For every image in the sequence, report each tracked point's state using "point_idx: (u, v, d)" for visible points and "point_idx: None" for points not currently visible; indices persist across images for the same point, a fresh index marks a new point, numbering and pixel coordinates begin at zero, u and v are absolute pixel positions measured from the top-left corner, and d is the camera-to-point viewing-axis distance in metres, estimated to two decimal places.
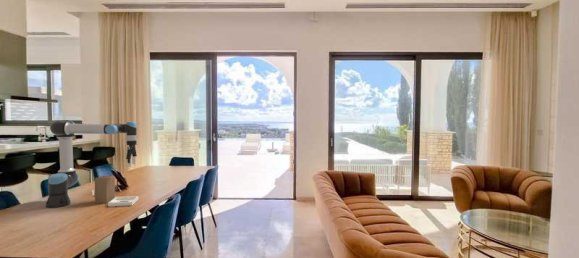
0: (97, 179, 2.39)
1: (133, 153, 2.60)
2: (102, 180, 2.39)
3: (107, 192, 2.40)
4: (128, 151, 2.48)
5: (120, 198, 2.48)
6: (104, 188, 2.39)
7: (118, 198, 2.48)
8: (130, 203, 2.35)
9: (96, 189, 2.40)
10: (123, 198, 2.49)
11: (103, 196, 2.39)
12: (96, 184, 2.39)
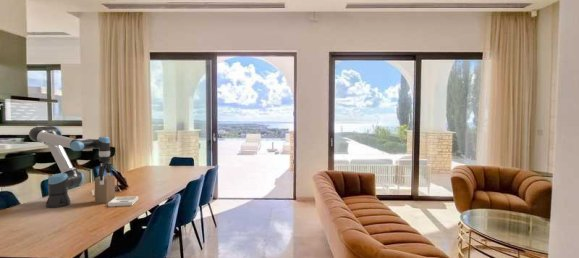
0: (97, 179, 2.39)
1: (107, 169, 2.48)
2: None
3: (107, 192, 2.40)
4: (100, 168, 2.36)
5: (120, 198, 2.48)
6: (104, 188, 2.39)
7: (118, 198, 2.48)
8: (130, 203, 2.35)
9: (96, 189, 2.40)
10: (123, 198, 2.49)
11: (103, 196, 2.39)
12: (96, 184, 2.39)
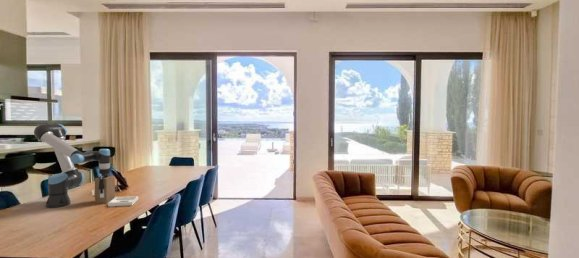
0: (97, 179, 2.39)
1: None
2: None
3: (107, 192, 2.40)
4: (100, 181, 2.37)
5: (120, 198, 2.48)
6: (104, 188, 2.39)
7: (118, 198, 2.48)
8: (130, 203, 2.35)
9: (96, 189, 2.40)
10: (123, 198, 2.49)
11: None
12: (96, 184, 2.39)
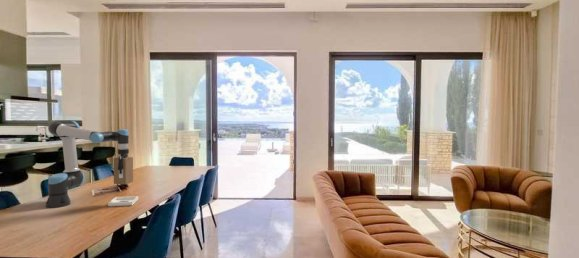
0: (116, 159, 2.36)
1: None
2: None
3: (126, 172, 2.37)
4: (119, 161, 2.33)
5: (120, 198, 2.48)
6: (123, 168, 2.35)
7: (118, 198, 2.48)
8: (130, 203, 2.35)
9: (115, 169, 2.36)
10: (123, 198, 2.49)
11: None
12: (115, 164, 2.36)
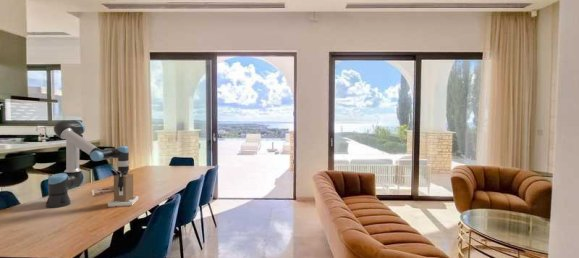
0: (116, 177, 2.36)
1: None
2: None
3: (126, 189, 2.37)
4: (120, 179, 2.34)
5: None
6: (123, 185, 2.36)
7: None
8: (130, 203, 2.35)
9: (115, 187, 2.37)
10: None
11: None
12: (115, 182, 2.37)
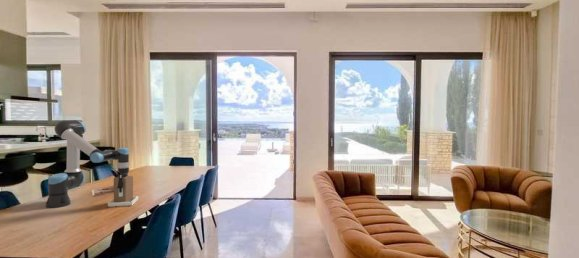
0: (116, 179, 2.36)
1: None
2: None
3: (126, 191, 2.37)
4: (119, 180, 2.34)
5: None
6: (123, 187, 2.36)
7: None
8: (130, 203, 2.35)
9: (115, 189, 2.37)
10: None
11: (122, 196, 2.37)
12: (115, 184, 2.37)
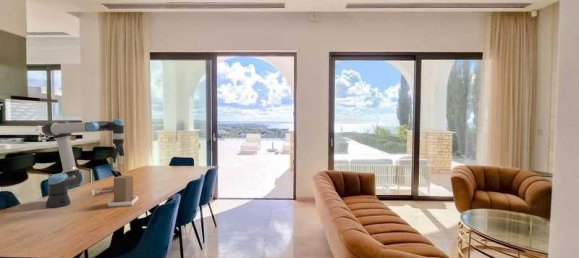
0: (116, 179, 2.36)
1: (120, 152, 2.48)
2: (121, 180, 2.36)
3: (126, 191, 2.37)
4: (114, 150, 2.35)
5: None
6: (123, 187, 2.36)
7: None
8: (130, 203, 2.35)
9: (115, 189, 2.37)
10: None
11: (122, 196, 2.37)
12: (115, 184, 2.37)
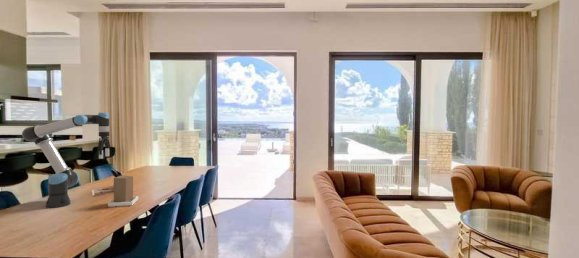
0: (116, 179, 2.36)
1: (106, 145, 2.55)
2: (121, 180, 2.36)
3: (126, 191, 2.37)
4: (100, 142, 2.42)
5: None
6: (123, 187, 2.36)
7: None
8: (130, 203, 2.35)
9: (115, 189, 2.37)
10: None
11: (122, 196, 2.37)
12: (115, 184, 2.37)
